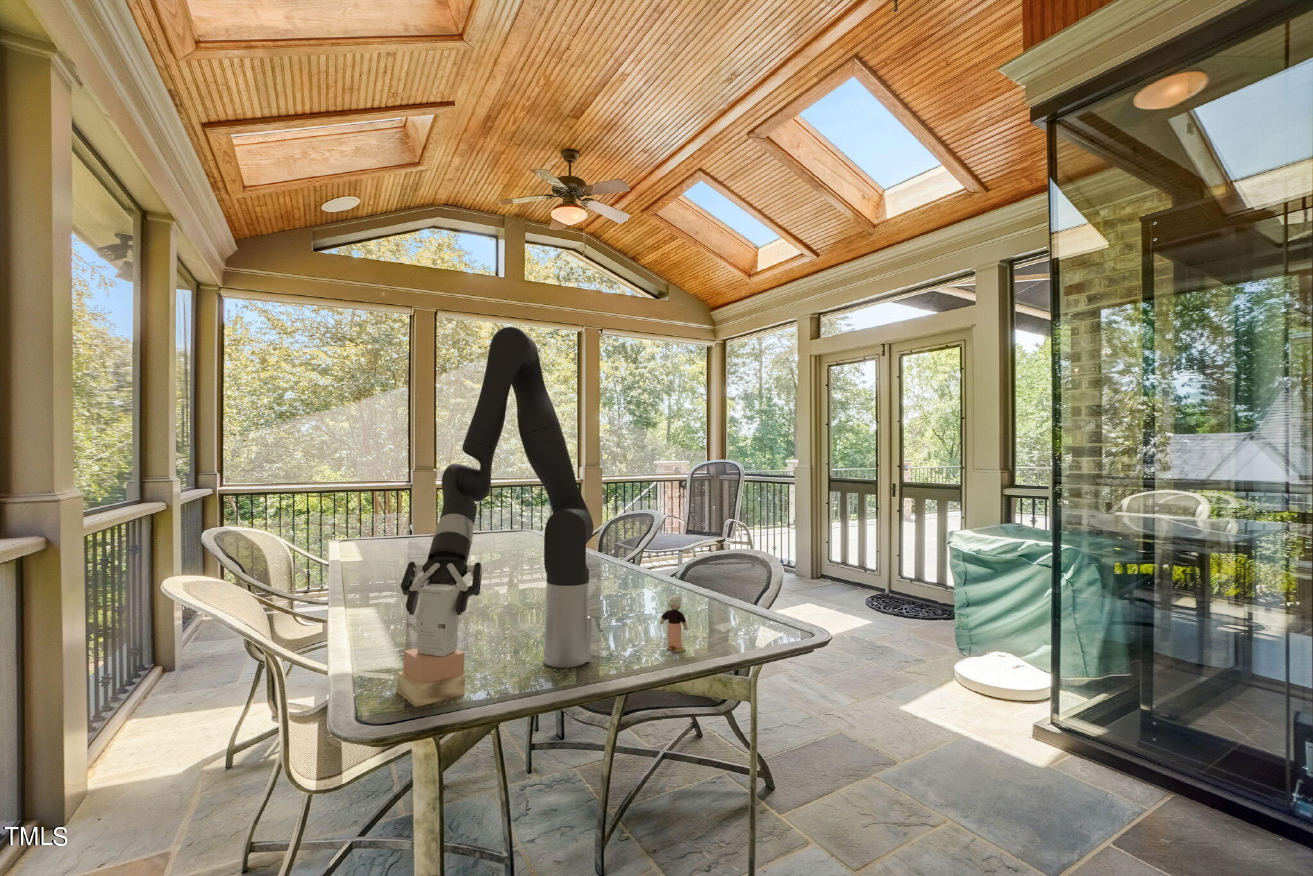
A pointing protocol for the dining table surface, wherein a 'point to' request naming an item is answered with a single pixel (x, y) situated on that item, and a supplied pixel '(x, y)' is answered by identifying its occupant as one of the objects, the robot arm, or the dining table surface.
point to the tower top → (432, 666)
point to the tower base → (429, 689)
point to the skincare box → (438, 620)
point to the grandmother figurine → (674, 624)
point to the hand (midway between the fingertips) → (434, 612)
